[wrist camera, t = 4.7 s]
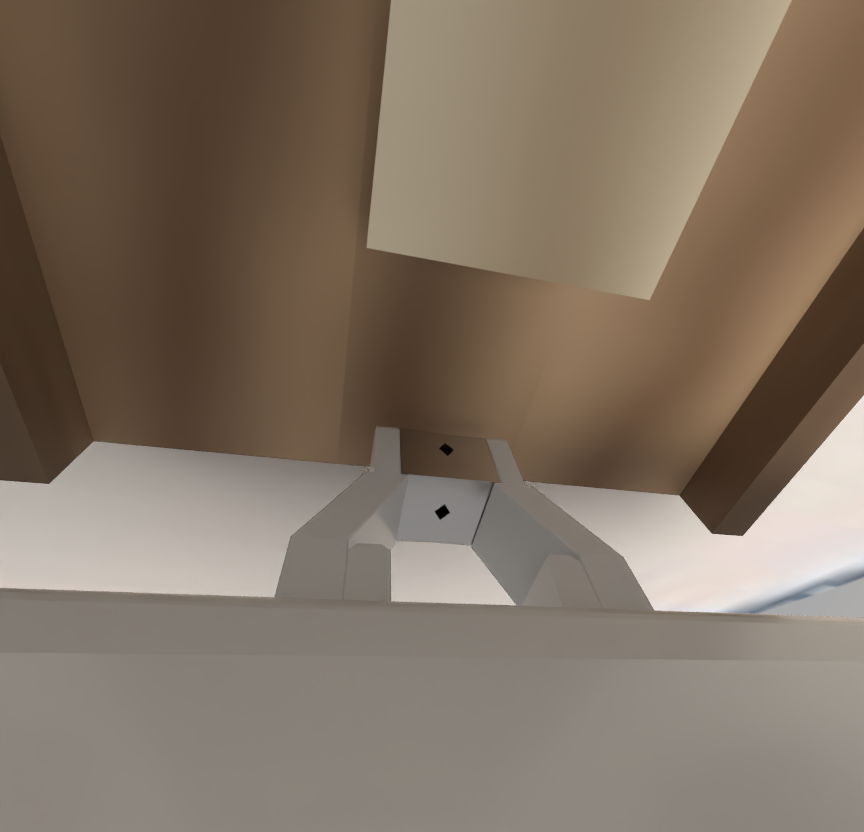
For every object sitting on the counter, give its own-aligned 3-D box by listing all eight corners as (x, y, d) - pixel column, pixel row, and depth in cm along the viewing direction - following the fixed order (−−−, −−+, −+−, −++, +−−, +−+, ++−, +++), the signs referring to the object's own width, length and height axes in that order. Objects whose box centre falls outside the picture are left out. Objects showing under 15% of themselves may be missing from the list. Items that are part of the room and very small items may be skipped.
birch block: (374, 217, 8) (366, 247, 5) (408, -102, 6) (422, -319, 3) (571, 256, 8) (649, 300, 6) (666, -15, 6) (854, -134, 4)
